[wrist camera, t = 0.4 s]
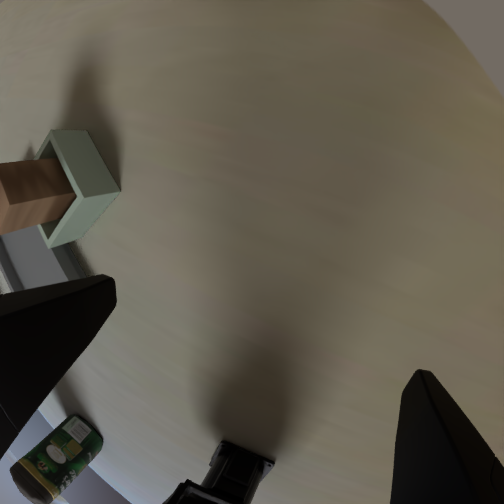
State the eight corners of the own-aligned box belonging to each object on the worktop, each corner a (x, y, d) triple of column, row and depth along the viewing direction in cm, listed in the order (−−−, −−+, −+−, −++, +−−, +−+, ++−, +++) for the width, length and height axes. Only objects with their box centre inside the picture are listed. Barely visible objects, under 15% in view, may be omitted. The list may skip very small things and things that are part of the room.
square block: (96, 188, 25) (9, 205, 16) (77, 214, 27) (-3, 236, 18) (79, 156, 25) (-5, 164, 16) (61, 183, 27) (-17, 197, 18)
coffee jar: (100, 454, 42) (42, 514, 25) (69, 426, 43) (8, 480, 26) (109, 439, 39) (40, 509, 22) (73, 406, 39) (0, 468, 22)
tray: (104, 305, 29) (88, 314, 27) (58, 346, 35) (46, 354, 33) (31, 165, 29) (15, 167, 26) (0, 234, 35) (-13, 238, 32)
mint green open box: (121, 191, 25) (83, 198, 21) (81, 237, 28) (48, 249, 24) (86, 130, 25) (50, 129, 21) (52, 180, 28) (20, 185, 24)
